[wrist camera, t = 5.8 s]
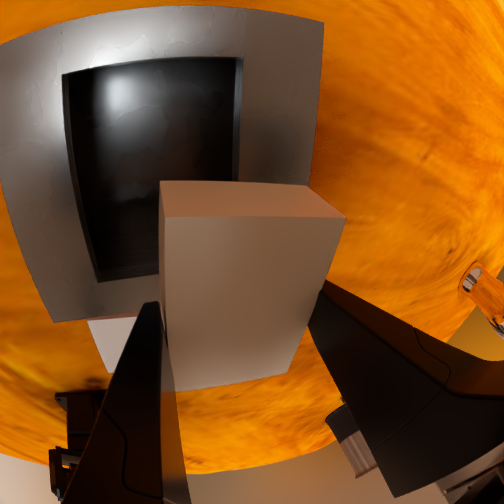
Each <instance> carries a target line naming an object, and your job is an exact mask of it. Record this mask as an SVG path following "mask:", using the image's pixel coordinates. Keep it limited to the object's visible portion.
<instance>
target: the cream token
mask: <svg viewBox="0 0 504 504" xmlns="http://www.w3.org/2000/svg"><path fill="white" fill-rule="evenodd" d="M346 219H347V218H346V217H345V216H344V215H343V214H342V213H340V212H339V211H338V210H337V209H335V208H334V207H333V206H332V205H330V204H329V203H328V202H327V201H325V200H324V199H323V198H321V197H320V196H319V195H318V194H316V193H315V192H314V191H312V190H311V189H310V188H309V187H307V186H303V185H289V184H274V183H255V182H229V181H160V190H159V281H160V303H161V314H162V319H163V324H164V329H165V335H166V341H167V347H168V352H169V356H170V361H171V366H172V371H173V377H174V385H175V392H180V391H188V390H196V389H203V388H210V387H216V386H222V385H228V384H234V383H239V382H245V381H250V380H255V379H260V378H265V377H269V376H274V375H278V374H282V373H286V372H287V370H288V368H289V366H290V364H291V361H292V359H293V357H294V355H295V352H296V350H297V348H298V346H299V343H300V341H301V339H302V336H303V334H304V332H305V329H306V327H307V324H308V322H309V319H310V317H311V315H312V312H313V310H314V307H315V304H316V300H317V297H318V293H319V291H320V290H321V289H322V287H323V284H324V281H325V279H326V276H327V273H328V271H329V268H330V265H331V262H332V260H333V257H334V254H335V251H336V248H337V245H338V243H339V240H340V237H341V234H342V231H343V228H344V225H345V222H346Z"/></svg>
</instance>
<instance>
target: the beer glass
mask: <svg viewBox="0 0 504 504" xmlns="http://www.w3.org/2000/svg"><path fill="white" fill-rule="evenodd" d="M458 290H459V291H460V292H461V293H463V294H464V295H466V296H467V297H469V298H470V299H471V300H473V301H474V302H475V303H476V305H477V306H478V307H479V309H480V310H481V311H482V313H483V314H484V316H485V317H486V319H487V320H488V322H489V323H490V325H491V326H492V327H493V329H494V330H495V331H496V332H497V333H498V335H499V336H500V337H501V338H502V339H503V340H504V283H502V282H501V281H499V280H497V279H496V278H495V277H493V276H492V275H491V274H490V273H489V272H488V271H487V270H486V269H485V267H484V266H483V265H482V264H481V262H479V261H475V262H474V263H473V264H472V265H471V266H470V267H469V268H468V270H467V271H466V272H465V274H464V275H463V277H462V279H461V281H460V283H459V287H458Z"/></svg>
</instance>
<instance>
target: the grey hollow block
mask: <svg viewBox="0 0 504 504" xmlns="http://www.w3.org/2000/svg"><path fill="white" fill-rule="evenodd" d="M323 36H324V23H323V22H319V21H315V20H311V19H307V18H302V17H297V16H293V15H287V14H282V13H276V12H270V11H263V10H255V9H246V8H236V7H223V6H160V7H147V8H137V9H129V10H121V11H114V12H108V13H103V14H97V15H92V16H88V17H83V18H79V19H75V20H71V21H67V22H63V23H60V24H56V25H53V26H49V27H46V28H43V29H40V30H37V31H34V32H31V33H29V34H26V35H23V36H21V37H18V38H16V39H13V40H11V41H8V42H6V43H4V44H1V45H0V181H1V185H2V189H3V194H4V197H5V201H6V205H7V209H8V212H9V216H10V219H11V222H12V225H13V228H14V232H15V235H16V237H17V240H18V243H19V246H20V249H21V251H22V254H23V257H24V259H25V262H26V264H27V267H28V269H29V272H30V274H31V276H32V279H33V281H34V283H35V286H36V288H37V290H38V292H39V294H40V296H41V298H42V301H43V303H44V305H45V307H46V309H47V311H48V313H49V315H50V316H51V318H52V320H53V322H54V323H55V322H64V321H72V320H80V319H88V318H96V317H103V316H110V315H117V314H124V313H131V312H138V311H140V310H141V307H142V305H143V304H144V303H145V302H151V301H158V302H159V304H160V308H161V303H160V281H159V190H160V181H229V182H255V183H274V184H289V185H303V186H307V187H308V186H309V178H310V171H311V163H312V155H313V146H314V138H315V129H316V120H317V110H318V100H319V89H320V77H321V65H322V52H323Z"/></svg>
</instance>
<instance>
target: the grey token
mask: <svg viewBox="0 0 504 504" xmlns="http://www.w3.org/2000/svg"><path fill="white" fill-rule="evenodd" d="M139 312H140V311H138V312H131V313H124V314H117V315H110V316H103V317H96V318H88V319H87V322H88V325H89V328H90V330H91V333H92V336H93V338H94V341H95V343H96V346H97V348H98V351H99V353H100V355H101V358H102V360H103V362H104V364H105V367H106V369H107V371H108V373H114V371H115V368H116V366H117V363H118V361H119V358H120V356H121V353H122V351H123V349H124V346H125V344H126V341H127V339H128V337H129V334H130V332H131V330H132V327H133V325H134V323H135V321H136V318H137V316H138V314H139Z"/></svg>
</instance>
